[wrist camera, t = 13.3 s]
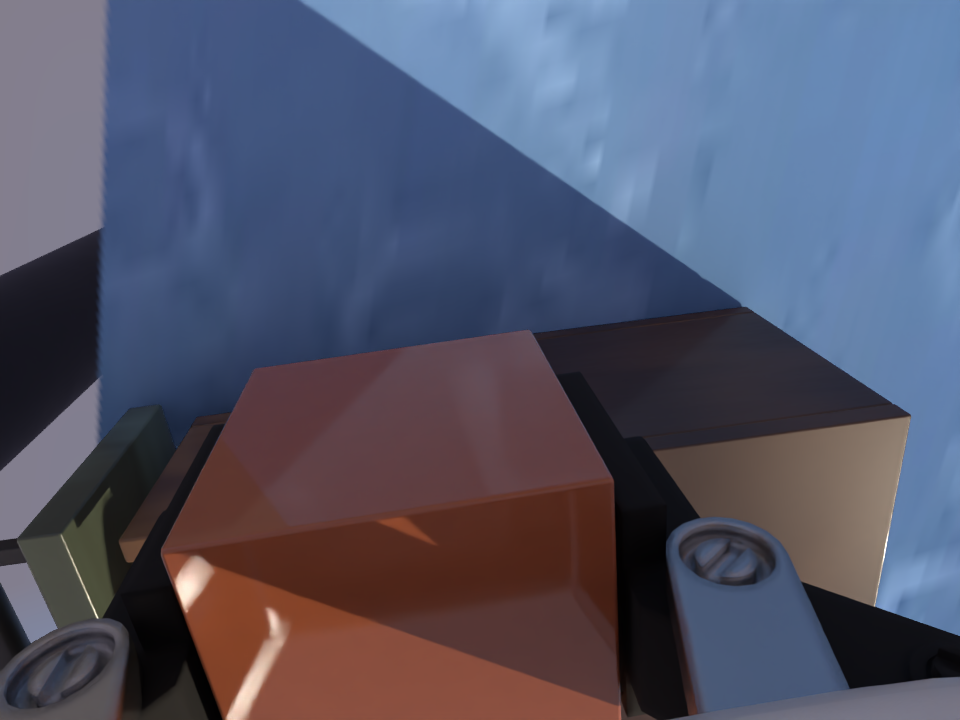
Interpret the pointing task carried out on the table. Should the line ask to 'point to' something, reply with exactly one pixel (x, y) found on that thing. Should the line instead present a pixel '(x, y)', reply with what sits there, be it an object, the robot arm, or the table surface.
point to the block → (404, 543)
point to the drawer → (100, 520)
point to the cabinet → (754, 433)
